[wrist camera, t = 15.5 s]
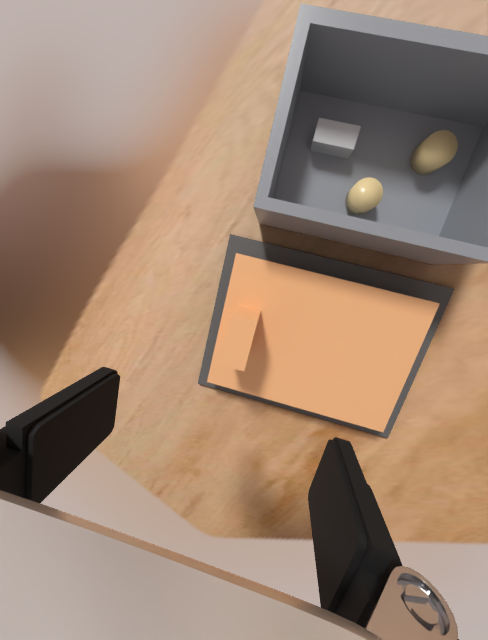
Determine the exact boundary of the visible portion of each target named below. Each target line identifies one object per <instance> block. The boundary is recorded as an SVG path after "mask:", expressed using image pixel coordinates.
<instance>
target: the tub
mask: <svg viewBox="0 0 488 640" xmlns="http://www.w3.org/2000/svg"><path fill="white" fill-rule="evenodd" d="M254 210H255V213H256V215H257V218H258V221H259V223H260V224H264V225H268V226H272V227H276V228H281V229H285V230H289V231H293V232H297V233H302V234H306V235H310V236H314V237H318V238H323V239H327V240H331V241H335V242H339V243H344V244H348V245H352V246H356V247H361V248H365V249H369V250H373V251H377V252H382V253H386V254H390V255H394V256H398V257H403V258H407V259H411V260H415V261H419V262H424V263H428V264H475V263H488V36H484V35H478V34H473V33H467V32H461V31H455V30H450V29H444V28H438V27H432V26H427V25H421V24H415V23H409V22H404V21H398V20H392V19H386V18H381V17H375V16H369V15H363V14H358V13H352V12H346V11H340V10H335V9H329V8H323V7H317V6H312V5H306V4H301V5H300V9H299V13H298V18H297V22H296V26H295V30H294V35H293V39H292V43H291V48H290V52H289V56H288V61H287V65H286V69H285V73H284V78H283V82H282V86H281V91H280V95H279V99H278V104H277V108H276V112H275V117H274V121H273V125H272V129H271V134H270V138H269V142H268V147H267V151H266V155H265V160H264V164H263V168H262V173H261V177H260V181H259V185H258V190H257V194H256V198H255V203H254Z"/></svg>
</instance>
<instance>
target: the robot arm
mask: <svg viewBox="0 0 488 640" xmlns="http://www.w3.org/2000/svg"><path fill="white" fill-rule="evenodd" d="M119 382H120V376H119V375H118V373H117V371H116V370H113V369H109V368H106V367H102V368H100V369H98V370H96V371H95V372H93V373H91V374H89V375H88V376H86V377H84V378H82V379H81V380H79V381H77V382H75V383H74V384H72V385H70V386H68V387H67V388H65V389H63V390H61V391H60V392H58V393H56V394H54V395H53V396H51V397H49V398H47V399H46V400H44V401H42V402H40V403H39V404H37V405H35V406H33V407H32V408H30V409H29V410H26V411H25V412H23V413H21V414H19V415H18V416H16V417H14V418H12V419H11V420H9V421H7V422H6V426H5V427H3V428H2V429H0V640H459V639H458V631H457V624H456V622H455V619H454V616H453V613H452V612H451V610H450V608H449V606H448V604H447V602H446V601H445V600H444V598H443V597H442V596H441V594H440V593H439V592H438V590H437V589H436V588H435V587H434V586H433V585H432V584H431V583H430V582H429V581H428V580H427V579H426V578H424V577H423V576H422V575H421V574H419V573H418V572H416V571H414V570H413V569H411V568H408V567H404V566H402V563H401V561H400V558H399V556H398V553H397V551H396V548H395V546H394V543H393V541H392V538H391V536H390V534H389V531H388V529H387V526H386V524H385V521H384V519H383V516H382V514H381V511H380V509H379V506H378V504H377V502H376V499H375V497H374V494H373V492H372V489H371V488H370V486H369V485H368V484H367V483H366V480H365V478H364V475H363V473H362V470H361V468H360V465H359V463H358V460H357V458H356V455H355V452H354V450H353V447H352V445H351V443H350V442H349V441H346V440H343V439H340V438H336V437H335V438H334V439H333V440H329V441H328V443H327V445H326V448H325V451H324V453H323V456H322V458H321V461H320V463H319V466H318V468H317V471H316V474H315V476H314V479H313V481H312V484H311V486H310V489H309V494H308V502H309V510H310V518H311V527H312V535H313V543H314V552H315V561H316V569H317V577H318V586H319V594H320V603H321V608H320V607H318V606H315V605H313V604H310V603H308V602H305V601H303V600H300V599H298V598H295V597H293V596H290V595H288V594H285V593H283V592H280V591H277V590H275V589H272V588H270V587H267V586H264V585H262V584H259V583H256V582H253V581H251V580H248V579H245V578H243V577H240V576H237V575H235V574H232V573H229V572H227V571H224V570H221V569H219V568H216V567H213V566H210V565H208V564H205V563H203V562H200V561H197V560H195V559H192V558H189V557H186V556H184V555H181V554H178V553H175V552H172V551H170V550H167V549H164V548H162V547H159V546H156V545H154V544H151V543H148V542H145V541H143V540H140V539H137V538H134V537H132V536H129V535H126V534H123V533H121V532H118V531H115V530H113V529H110V528H107V527H104V526H101V525H99V524H96V523H93V522H90V521H87V520H85V519H82V518H79V517H76V516H73V515H71V514H68V513H65V512H62V511H59V510H57V509H54V508H51V507H48V506H45V505H43V504H40V503H41V502H42V501H43V500H44V499H45V498H46V497H47V496H48V495H49V494H50V493H51V492H52V491H53V490H54V489H55V488H56V487H57V486H58V485H59V484H60V483H61V482H62V481H63V480H64V479H65V478H66V477H67V476H68V475H69V474H70V473H71V472H72V471H73V470H74V469H75V468H76V467H77V466H78V465H79V464H80V463H81V462H82V461H83V460H84V459H85V458H86V457H87V456H88V455H89V454H90V453H91V452H92V451H93V450H94V449H95V448H96V447H97V446H98V445H99V444H100V443H101V442H102V441H103V440H104V439H105V438H106V437H107V436H108V435H109V434H110V433H111V432H112V430H113V428H114V423H115V415H116V407H117V399H118V390H119Z"/></svg>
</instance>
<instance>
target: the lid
mask: <svg viewBox="0 0 488 640" xmlns="http://www.w3.org/2000/svg"><path fill="white" fill-rule="evenodd" d="M439 304H440V303H436V302H432V301H428V300H424V299H420V298H416V297H412V296H408V295H404V294H400V293H395V292H391V291H387V290H383V289H379V288H375V287H371V286H367V285H363V284H359V283H355V282H351V281H347V280H343V279H339V278H335V277H331V276H327V275H323V274H319V273H315V272H311V271H307V270H303V269H299V268H295V267H291V266H287V265H282V264H278V263H274V262H270V261H266V260H262V259H258V258H254V257H250V256H246V255H242V254H238V253H236V256H235V260H234V264H233V269H232V273H231V278H230V282H229V287H228V291H227V295H226V300H225V304H224V309H223V313H222V318H221V322H220V326H219V331H218V335H217V340H216V344H215V349H214V353H213V357H212V362H211V366H210V371H209V375H208V380H207V382H209V383H213V384H216V385H220V386H223V387H226V388H230V389H233V390H237V391H240V392H244V393H247V394H251V395H254V396H258V397H261V398H265V399H268V400H272V401H275V402H279V403H282V404H286V405H289V406H293V407H296V408H300V409H303V410H307V411H310V412H314V413H317V414H321V415H324V416H328V417H331V418H335V419H338V420H342V421H345V422H349V423H352V424H356V425H359V426H363V427H366V428H370V429H373V430H376V431H380V432H384V430H385V427H386V425H387V423H388V420H389V418H390V416H391V414H392V411H393V409H394V407H395V404H396V402H397V400H398V398H399V395H400V393H401V391H402V389H403V386H404V384H405V382H406V379H407V377H408V375H409V373H410V370H411V368H412V366H413V364H414V361H415V359H416V357H417V354H418V352H419V350H420V348H421V345H422V343H423V341H424V338H425V336H426V334H427V332H428V329H429V327H430V325H431V323H432V320H433V318H434V316H435V313H436V311H437V309H438V307H439Z"/></svg>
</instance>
